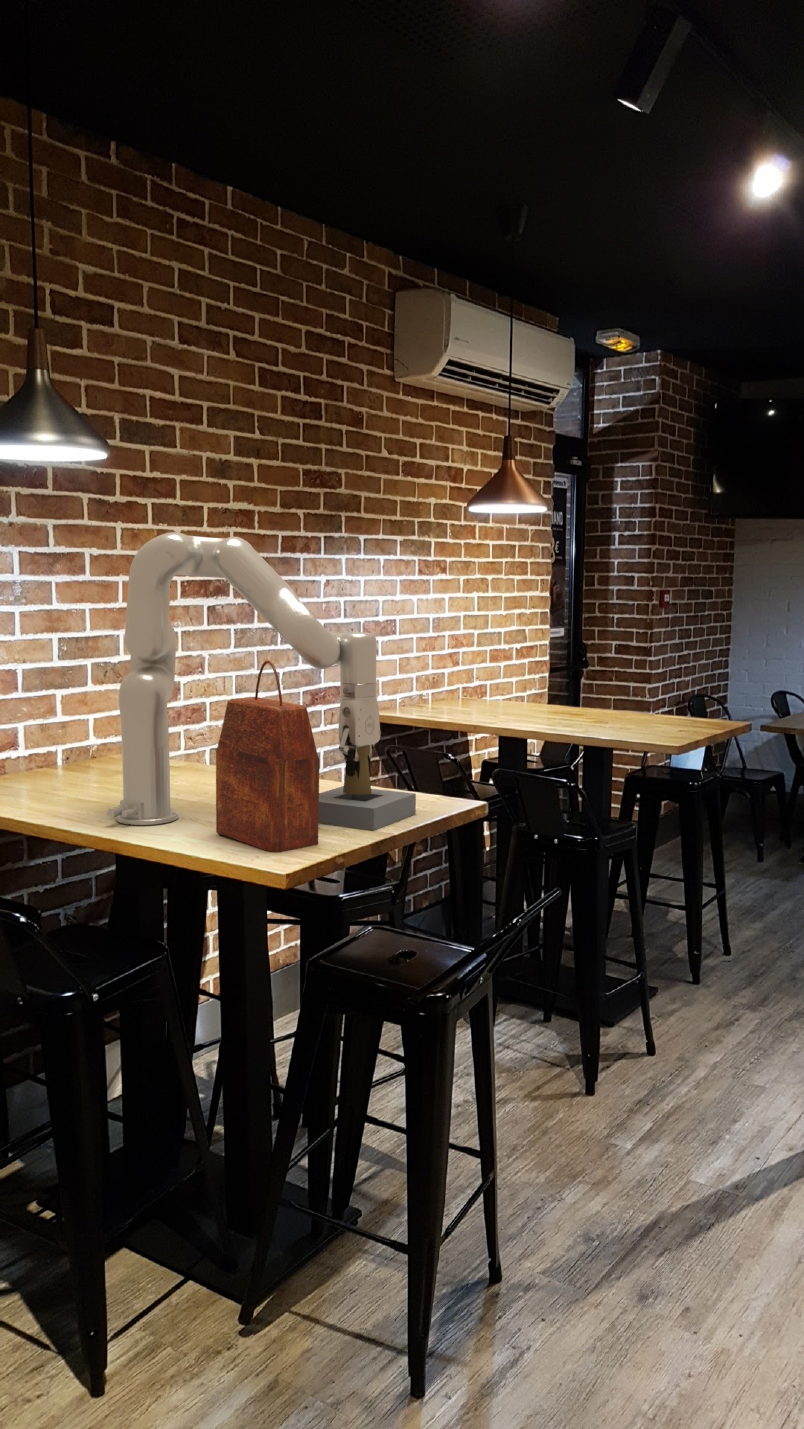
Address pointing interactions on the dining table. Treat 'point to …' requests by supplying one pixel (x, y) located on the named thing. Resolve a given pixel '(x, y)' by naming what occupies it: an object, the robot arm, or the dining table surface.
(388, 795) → the well block
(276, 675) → the handbag
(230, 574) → the robot arm
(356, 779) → the cork
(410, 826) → the dining table surface
